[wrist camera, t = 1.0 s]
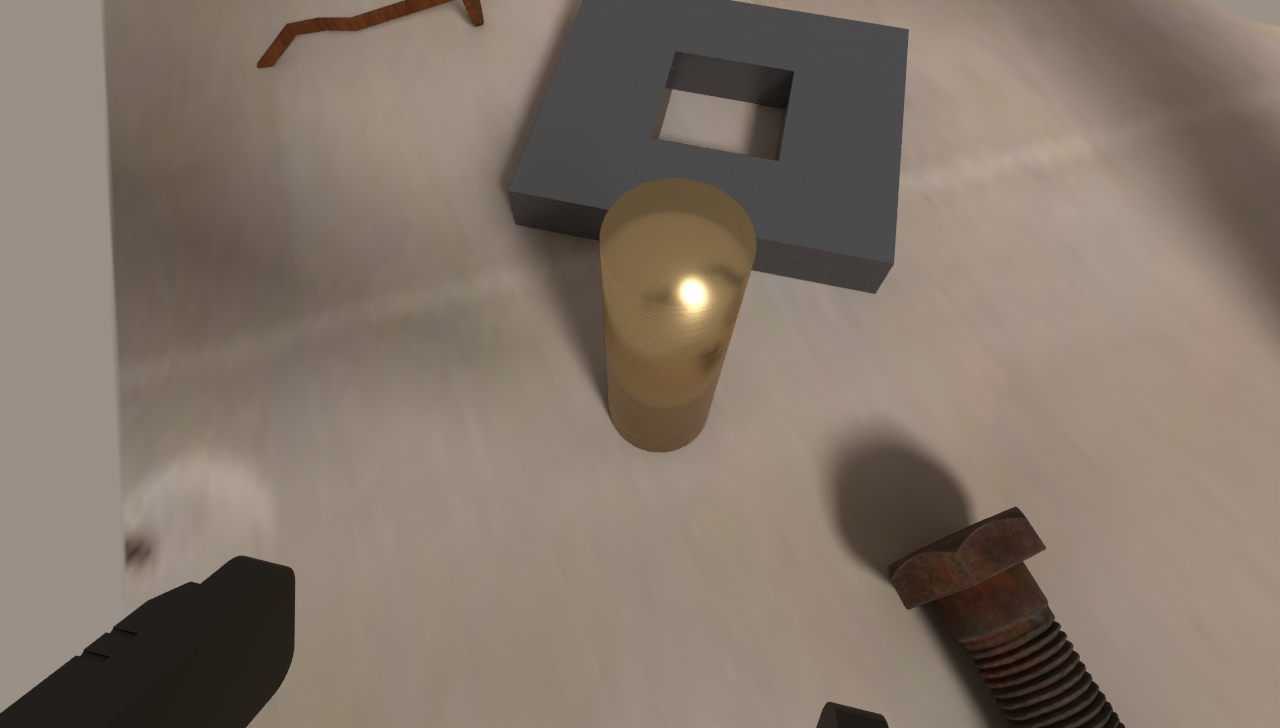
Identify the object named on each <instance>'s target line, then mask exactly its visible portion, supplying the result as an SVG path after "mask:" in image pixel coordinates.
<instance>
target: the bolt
mask: <svg viewBox="0 0 1280 728" xmlns="http://www.w3.org/2000/svg"><path fill="white" fill-rule="evenodd" d="M1045 549H1046V547H1045V545H1044V544H1043V542H1042V541H1041V539H1040V538H1039V536H1038V535H1037V533H1036V532H1035V530H1034V529H1033V527H1032V526H1031V524H1030V523H1029V521H1028V520H1027V518H1026V517H1025V516H1024V514H1023V513H1022V512H1021V511H1020V510H1019V509H1018V508H1017V507H1014V508H1011V509H1009V510H1006V511H1004V512H1001V513H999V514H997V515H994V516H992V517H990V518H987V519H984V520H982V521H979V522H977V523H975V524H973V525H971V526H969V527H967V528H964V529H962V530H960V531H958V532H956V533H954V534H952V535H949V536H947V537H945V538H943V539H941V540H939V541H937V542H935V543H933V544H931V545H929V546H927V547H924V548H922V549H919V550H917V551H915V552H913V553H912V554H910V555H908V556H906V557H904V558H902V559H900V560H898V561H897V562H895V563H893V564H891V565H888V573H889V577H890V580H891V582H892V584H893V586H894V587H895V589H896V591H897V593H898V595H899V596H900V598H901V600H902V602H903V604H904V606H905V607H906V609H907V610H908V609H911V608H914V607H917V606H919V605H922V604H925V603H928V602H930V601H933V600H934V602H935V604H936V606H937V607H938V609H939V611H940V612H941V614H942V616H943V618H944V619H945V621H946V623H947V625H948V626H949V628H950V630H951V632H952V633H953V635H954V637H955V638H956V640H958V641H959V642H960V643H961V645H962V646H963V648H964V649H966V650H968V655H969V657H970V658H972V659H976V660H975V661H974V663H973V665H974V666H975V668H980V669H981V670H980V671H979V675H980V676H981V677H982V678H987V679H986V680H985V682H984V684H985V686H987V687H989V688H991V690H990V694H991V696H992V697H995V698H996V702H995V703H996V705H997V706H999V707H1000V708H1002V711H1001V713H1002V715H1003V716H1004V717H1006V718H1007V719H1008V720H1007V723H1008V726H1010V727H1011V728H1125V726H1124V724H1122V723H1120V720H1119V718H1118V715H1117V713H1115V712H1113V709H1112V706H1111V704H1110V703H1109V702H1107V701H1106V698H1105V695H1104V694H1103V693H1102V692H1100V691H1099V686H1098V685H1097V684H1096V683H1095V682H1093V681H1092V677H1091V674H1089V673H1088V672H1086V671H1085V670H1086V667H1085V664H1083V663H1082V662H1081V661H1079V658H1080V656H1079V654H1078V653H1077V652H1075V651H1074V650H1072V649H1073V644H1072V643H1071V642H1069V641H1068V640H1066V639H1067V635H1066V633H1065V632H1063V631H1060V628H1061V625H1060V624H1059V623H1058V622H1056V621H1054V619H1055V617H1054V615H1053V613H1052V611H1051V610H1050V608H1049V607H1048V601H1047V599H1046V597H1045V596H1044V594H1043V592H1042V591H1041V589H1040V588H1039V586H1038V584H1037V583H1036V581H1035V580H1034V578H1033V577H1032V575H1031V573H1030V572H1029V570H1028V569H1027V567H1026V565H1025V564H1024V562H1023V561H1024V560H1026V559H1028V558H1030V557H1032V556H1034V555H1036V554H1038V553H1040V552H1042V551H1043V550H1045Z"/></svg>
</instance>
